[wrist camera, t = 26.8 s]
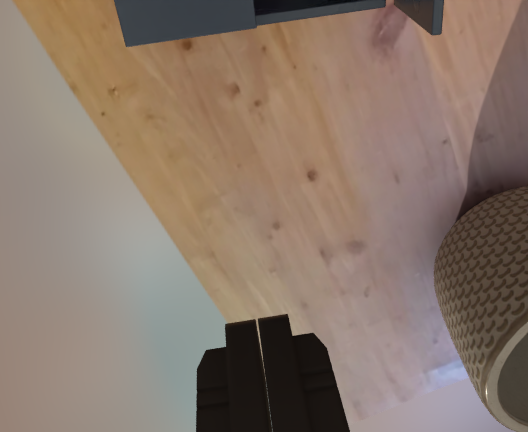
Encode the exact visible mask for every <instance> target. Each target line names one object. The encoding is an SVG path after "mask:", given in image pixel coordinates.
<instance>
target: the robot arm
mask: <svg viewBox="0 0 528 432" xmlns="http://www.w3.org/2000/svg"><path fill="white" fill-rule="evenodd" d="M258 324H259V331H260V339H261V347H262V354H263V361H262V355H261V349H260V343H259V337H258V331H257V325H256V320H255V319H254V320H247V321H241V322H235V323H228V324H225V333H226V347H223V348H216V349H210V350H206V351H205V353H204V355H203V358H202V360H201V362H200V364H199V366H198V368H197V411H196V413H197V414H196V415H197V416H196V432H272V429H273V432H350V430H349V427H348V423H347V419H346V416H345V412H344V408H343V405H342V401H341V398H340V394H339V390H338V387H337V383H336V380H335V376H334V372H333V370H332V365H331V362H330V358H329V354H328V351H327V348H326V347H325V346H324V344H323V343H322V342H321V341H320V340H319V339H318V338H317V336H316V335H315V334H314V333H309V334H302V335H296V336H292V332H291V327H290V322H289V318H288V314H284V315H278V316H271V317H265V318H259V319H258ZM263 362H264V367H263ZM264 369H265V373H264ZM265 377H266V380H265ZM266 384H267V387H266ZM267 392H268V394H267ZM268 399H269V402H268ZM269 407H270V410H269ZM270 414H271V417H270ZM271 422H272V425H271Z"/></svg>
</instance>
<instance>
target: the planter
mask: <svg viewBox="0 0 528 432" xmlns="http://www.w3.org/2000/svg"><path fill="white" fill-rule="evenodd" d="M434 287H435V292H436V296H437V300H438V303H439V307H440V310H441V313H442V316H443V318H444V321H445V323H446V326H447V328H448V331H449V333H450V336H451V339H452V341H453V343H454V345H455V347H456V349H457V352H458V354H459V356H460V358H461V360H462V362H463V365H464V367H465V369H466V371H467V373H468V376H469V378H470V380H471V382H472V384H473V386H474V388H475V390H476V392H477V393H478V395H479V397H480V399H481V401H482V403H483V404H484V405H485V407H486V408H487V409H488V411H489V412H490V414H491V415H492V416H493V417H494V418H495V419H496V420H497V421H498V422H499V423H501V424H502V425H504V426H505V427H507V428H509V429H511V430H514V431H516V432H528V186H526V187H520V188H516V189H511V190H507V191H504V192H502V193H499V194H496V195H494V196H492V197H490V198H488V199H486V200H484V201H482V202H481V203H479V204H477V205H476V206H474V207H473V208H471V209H470V210H469V211H468V212H467V213H465V214H464V215H463V216H462V217H461V218H460V219H459V220H458V221H457V222H456V223H455V224H454V225H453V226H452V228H451V229H450V231H449V232H448V233H447V235H446V236H445V238H444V240H443V242H442V244H441V246H440V248H439V250H438V253H437V256H436V259H435V265H434Z"/></svg>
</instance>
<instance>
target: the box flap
mask: <svg viewBox="0 0 528 432" xmlns="http://www.w3.org/2000/svg"><path fill="white" fill-rule="evenodd" d="M114 2H115V6H116V10H117V14H118V18H119V21H120V25H121V29H122V33H123V37H124V41H125V45H126V47H131V46H138V45H145V44H152V43H158V42H165V41H172V40H179V39H186V38H192V37H199V36H206V35H213V34H220V33H226V32H233V31H240V30H247V29H254V28H257V25H256V16H255V8H254V0H114Z"/></svg>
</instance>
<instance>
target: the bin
mask: <svg viewBox="0 0 528 432" xmlns="http://www.w3.org/2000/svg"><path fill="white" fill-rule="evenodd" d="M394 5H395V6H396V7H398V8H399V9H400V10H401V11H402V12H404V13H405V14H406V15H407V16H409V17H410V18H411V19H412V20H414V21H415V22H416V23H417V24H418V25H420V26H421V27H422V28H423V29H425V30H426V31H427V32H428V33H430V34H431V35H440V34H441V33H442V20H443V6H444V0H394ZM385 6H386V0H254V8H255V16H256V25H257V26H258V25H265V24H272V23H279V22H286V21H293V20H300V19H307V18H314V17H321V16H328V15H335V14H341V13H348V12H355V11H362V10H369V9H376V8H383V7H385Z"/></svg>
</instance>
